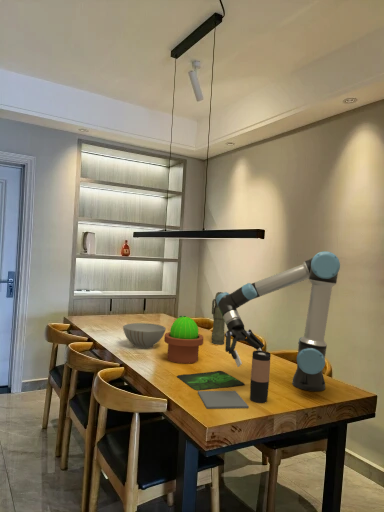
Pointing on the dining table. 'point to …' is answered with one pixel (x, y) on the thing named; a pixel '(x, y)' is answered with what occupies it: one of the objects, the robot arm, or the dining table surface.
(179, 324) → the potted cactus
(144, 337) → the decorative bowl
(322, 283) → the robot arm
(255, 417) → the dining table surface
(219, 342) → the olive grey tall piece
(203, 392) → the rubber mat
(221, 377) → the mouse mat
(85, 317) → the dining table surface
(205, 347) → the dining table surface
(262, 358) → the travel mug
